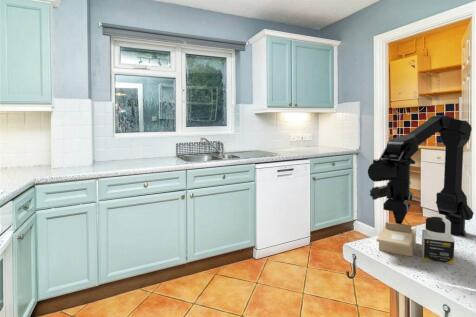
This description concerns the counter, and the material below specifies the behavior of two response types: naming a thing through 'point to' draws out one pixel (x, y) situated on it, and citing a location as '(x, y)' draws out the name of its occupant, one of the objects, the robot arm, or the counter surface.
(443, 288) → the counter surface
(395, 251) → the mailer box
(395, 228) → the lid
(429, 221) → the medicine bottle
